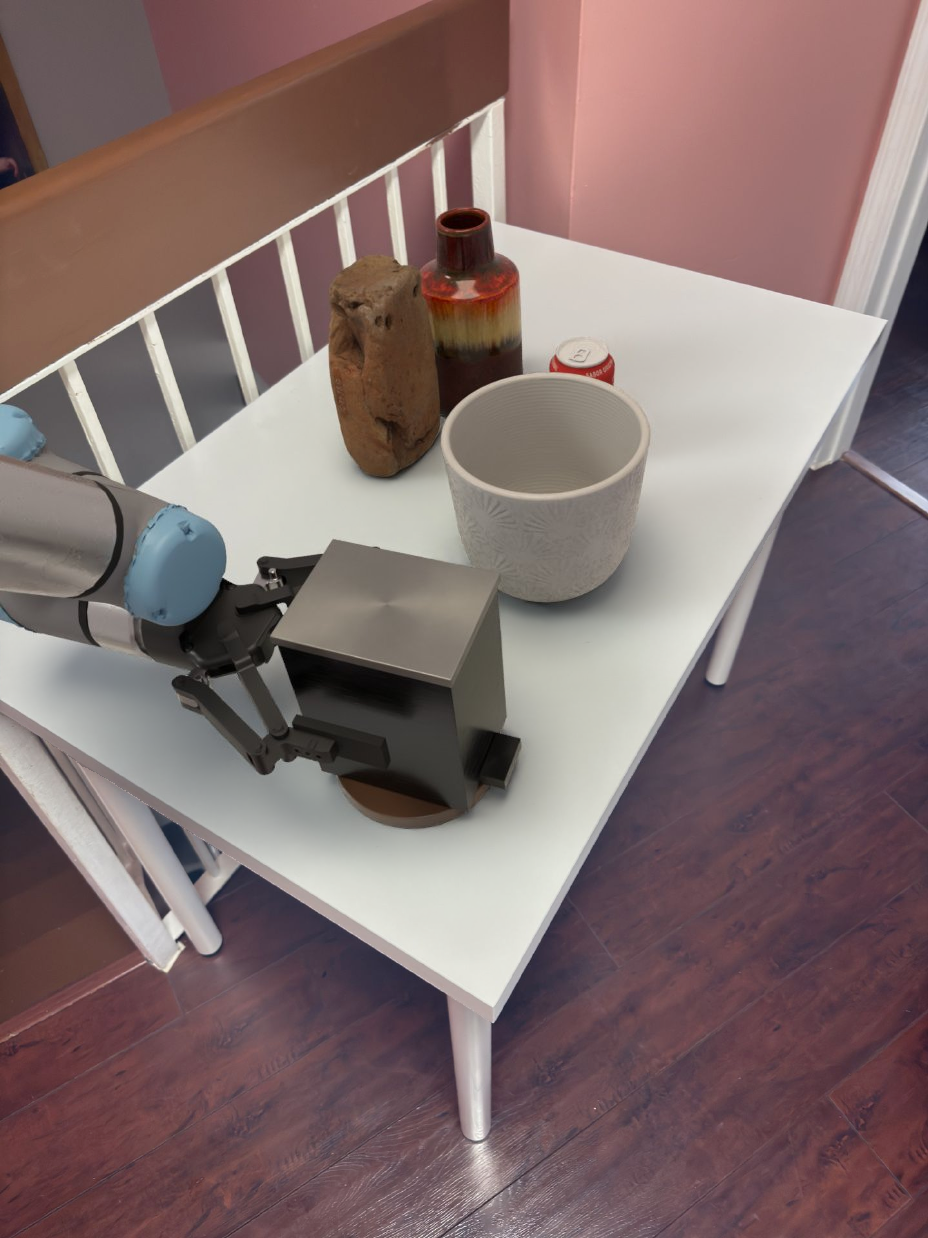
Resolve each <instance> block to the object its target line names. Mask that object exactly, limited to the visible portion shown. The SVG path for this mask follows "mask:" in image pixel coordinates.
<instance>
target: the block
mask: <svg viewBox="0 0 928 1238" xmlns="http://www.w3.org/2000/svg"><path fill="white" fill-rule="evenodd" d="M328 288H329V289H328V296H329V297H328V298H329V304H330V316H331V319H330V322H329V324H328V329H329V333H328V337H327V339H328V345H327V347H328V349H327V350H328V370H329V378H330V386H331V391H332V395H333V401H334V405H335V410H336V414H337V418H338V422H339V427H340V432H341V436H342V440H343V443H344V446H345V448H346V451H347V452H348V455H349V456H350V457H351V458H352V460H353V462H354V463H355V464H356V465H357V466H358V468H359V470H360V471H362V473H364V474H367V475H370V476H374V477H379V478H389V477H392V476H393V475H396V474H397V473H399V472H400V471H401V470H403V469H405V468H407V467H409V466H411V465H413V464H414V463H416V461H418V460H419V459H420V458H421V457H422V455H424V454H425V453H426V452H427V451H428V450H429V449H430V448H431V446H432V445H433V443H434V441H435V440H436V438H437V437H438V436H439V432H440V429H441V415H440V399H439V386H438V376H437V369H436V365H435V354H434V345H433V335H432V330H431V324H430V322H429V314H428V307H427V303H426V301H425V299H424V297H423V296H422V279H421V273H420V270H419V268H418V267H417V266H414V265H412V264H402V265H401V264H400V262H399V261H398V260H397V259H395V258H394V257H392V256H389V255H384V254H371V253H370V254H368V255H364V256H361V257H359V258H358V259H356V260H355V261H354V262H353V263H352V264H351V265H349V266H347V267H345V268H343V269H342V270H340V272H339V273H337V274H336V275H335V277H334V278H333V280H332V281H331V282H330V284H329V287H328Z"/></svg>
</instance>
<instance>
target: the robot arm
mask: <svg viewBox="0 0 928 1238" xmlns="http://www.w3.org/2000/svg"><path fill="white" fill-rule="evenodd" d="M374 547H375V548H380V547H379V546H374ZM322 555H323V553H317V554H309V555H302V556H293V557H288V558H286V557H278V556H269V555H263V556H260V557H259V558H258V559H257V560H256V566H257V569H258V573H257V574H256V576H255V578H254V580H253V582H252V583H246V584H235V583H234V582H231V581H229V580H228V579H226V578H225V577H224V575H225V573H226V570H227V563H228V562H227V559H228V558H227V557H228V556H227V548H226V543H225V540H224V538H223V535H222V534H221V532H220V531H219V529H218V528H217V527H216V526H215V525H214V524H213V523H212V522H211V521H209V520H208V519H206V518H204V517H201V516H200V515H198V514H196V513H193V512H191V511H189V510H188V508H187V507H186V506H183V505H180V504H175V503H170V502H168V501H165V500H163V499H160V498H158V497H155V496H153V495H151V494H148V493H146V492H144V491H141V490H139V489H136V488H134V487H132V486H129V485H127V484H123V483H121V482H118V481H117V480H114V479H111V478H110V477H107V476H105V475H103V474H101V473H99V472H96V471H94V470H92V469H89V468H86V467H84V466H82V465H79V464H77V463H74V462H72V461H70V460H68V459H66V458H63V457H60V456H57V455H55V454H54V453H53V452H52V451H51V450H50V448H49V446H48V444H47V438H46V436H45V434H44V433H42V432H41V431H40V430H39V428H38V426H37V425H36V423H35V422H34V420H33V419H32V418H31V416H30V415H29V414H28V412H26V411H25V410H23V409H22V408H20V407H17V406H15V405H11V404H5V403H0V621H3V622H6V623H9V624H11V625H14V626H16V627H18V628H20V629H21V628H22V629H24V630H25V631H28V632H31V633H34V634H39V635H41V634H42V635H47V636H51V637H56V638H60V639H64V640H68V641H71V642H72V641H73V642H76V643H80V644H85V645H89V646H93V647H96V648H103V649H107V650H109V651H113V652H114V651H115V652H118V653H122V654H126V655H129V656H134V657H136V658H141V659H145V660H149V661H151V660H153V661H154V662H156V663H159V664H162V665H165V666H170V667H173V668H177V669H181V670H186V671H188V674H187V675H185V674H179V675H177V676H175V677H173V679H172V680H171V683H170V684H171V687H172V689H173V691H174V693H175V695H176V697H177V699H178V701H179V702H180V704H181V706H182V708H184V709H185V710H188V711H190V712H193V713H195V714H198V715H200V716H203V717H204V719H206V720H207V722H209V724H210V725H211V726H212V727H214V729H216V731H217V732H218V733H219V734H220V735H221V736H222V737H223V738H224V739H225V740H226V742H228V743H229V744H230V745H231V746H232V748H234V749H235V750H236V751H237V752H238V753H239V754H240V755H241V757H243V759H244V760H245V761H246V762H247V763H248V764H249V765H250V766H251V767H252V768H253V769H254V770H255V771H256V772H257V773H258V774H259V775H261V776H268V775H270V774H272V773H273V772H274V771H275V768H276V764H277V763H278V762H279V761H280V760H282V762H284V763H290V762H294V761H295V760H296V759H297V758H298V757H299V758H302V759H306V760H310V761H313V762H317V763H319V762H320V763H324V764H330V763H334V761H335V759H336V757H337V756H338V757H342V758H346V759H349V760H353V761H357V762H360V763H364V764H368V765H371V766H375V767H378V768H382V769H386V770H387V768H388V766H389V764H390V762H391V758H390V754H389V750H388V746H387V742H386V738H385V737H381V736H378V735H374V734H370V733H366V732H362V731H359V730H355V729H351V728H347V727H343V726H340V725H336V724H332V723H328V722H324V721H321V720H317V719H313V718H309V717H306V716H302V714H297V713H296V714H295V715H294V717H293V719H292V721H291V726H289V725H288V723H287V721H286V719H285V718H284V716H283V714H282V712H281V710H280V708H279V707H278V704H277V703H276V701H275V699H274V697H273V696H272V693H271V692H270V690H269V688H268V686H267V685H266V683H265V681H264V679H263V678H262V677H263V676H261V674H260V672H259V669H258V668H259V667H261V666H262V665H263V664H267V665H268V664H269V663H270V661H271V659H272V657H273V655H274V651H275V648H276V647H278V645H275V644H272V641H271V639H270V635H271V633H272V632H273V630H274V629H275V627H276V626H277V624H278V623H279V621H280V620H281V618H282V617H283V615H284V613H283V612H282V609H281V608H280V607H279V606H278V605H280V604H285V606H286V608H287V609H288V607H289V606H290V604H291V603H292V601H293V600H294V598H295V597H296V595H297V593H298V592H299V590H300V589H301V587H302V586H303V584H304V583H305V581H306V580H307V578H308V577H309V575H310V573H311V572H312V570H313V569H314V567H315V566H316V564H317V563H318V561H319V560H320V558H321V556H322ZM287 609H286V610H287ZM234 674H235V675H236V676H237V677H238V679H239V681H240V683H241V685H242V687H243V689H244V690H245V692H246V694H247V696H248V698H249V699H250V701H251V703H252V705H253V707H254V708H255V711H256V712H257V715H258V717H259V718H260V720H261V722H262V724H263V726H264V728H265V729H266V732H267V733H268V734H266V735H265V736H264V737H263V738H261V736H260V735H259V734H257V732H256V731H255V730H253V728H252V727H251V726H249V725H248V723H247V722H246V721H244V720H243V718H242V717H240V715H239V714H238V713H237V712H235V710H234V709H232V708H231V706H230V705H228V703H227V702H225V700H223V698H222V697H221V696H220V695H218V693H216V691H214V687H213V686H212V683H211V681H210V680H215V679H220V678H223V677H228V676H231V675H234Z"/></svg>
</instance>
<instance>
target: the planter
mask: <svg viewBox="0 0 928 1238" xmlns="http://www.w3.org/2000/svg"><path fill="white" fill-rule="evenodd" d="M650 444H651V427H650V422H649V420H648V417H647V415H646V413H645V412H644V410H643V409H642V407H641V406H640V405H639V404H638V402H637V401H636V400H635V399H634V398H633V397H631V396H630V395H629V394H627V393H626V392H624V391H623V390H622V389H620V388H618V387H617V386H615V385H614V386H612V385H610V384H608V383H606V382H603V381H600V380H597V379H594V378H591V377H586V376H582V375H576V374H569V373H555V372H549V371H548V372H547V371H545V372H532V373H525V374H524V373H523V375H518V376H513V377H509V378H505V379H502V380H499V381H496V382H493V383H491V384H488V385H486V386H484V387H482V388H480V389H478V390H476V391H475V392H473V393H471V394H470V395H468V396H467V397H466V398H464V399H463V400H462V401H461V402H460V403H459V404H458V405H456V407H455V408H454V409H453V410H452V411H451V413H450V414H449V416H448V417H447V418H446V419H445V421H444V423H443V425H442V429H441V435H440V447H441V452H442V456H443V457H442V458H443V461H444V466H445V470H446V471H445V472H446V476H447V481H448V485H449V490H450V494H451V500H452V505H453V510H454V514H455V519H456V524H457V528H458V534H459V537H460V542H461V544H462V547H463V549H464V551H465V554H466V556H467V557H468V559H469V562H470V563H471V565H472V567H473V568H478V569H483V570H488V571H493V572H497V573H501V583H500V585H499V587H498V591H500V592H502V593H504V594H506V595H508V596H510V597H513V598H516V599H520V600H524V601H528V602H533V603H557V602H562V601H567V600H571V599H575V598H578V597H580V596H583V595H585V594H587V593H589V592H591V591H593V590H595V589H596V588H598V587H599V586H602V584H603V583H604V582H606V581H607V580H608V579H609V578H610V577H611V576H612V575H613V573H614V572H615V571H616V570H617V568H618V567H619V566H620V564H621V563H622V561H623V559H624V558H625V556H626V553H628V552H627V551H628V549H629V547H630V544H631V541H632V539H633V535H634V531H635V526H636V521H637V514H638V510H639V505H640V498H641V494H642V487H643V483H644V477H645V472H646V465H647V460H648V454H649V450H650V449H649V448H650Z"/></svg>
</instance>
